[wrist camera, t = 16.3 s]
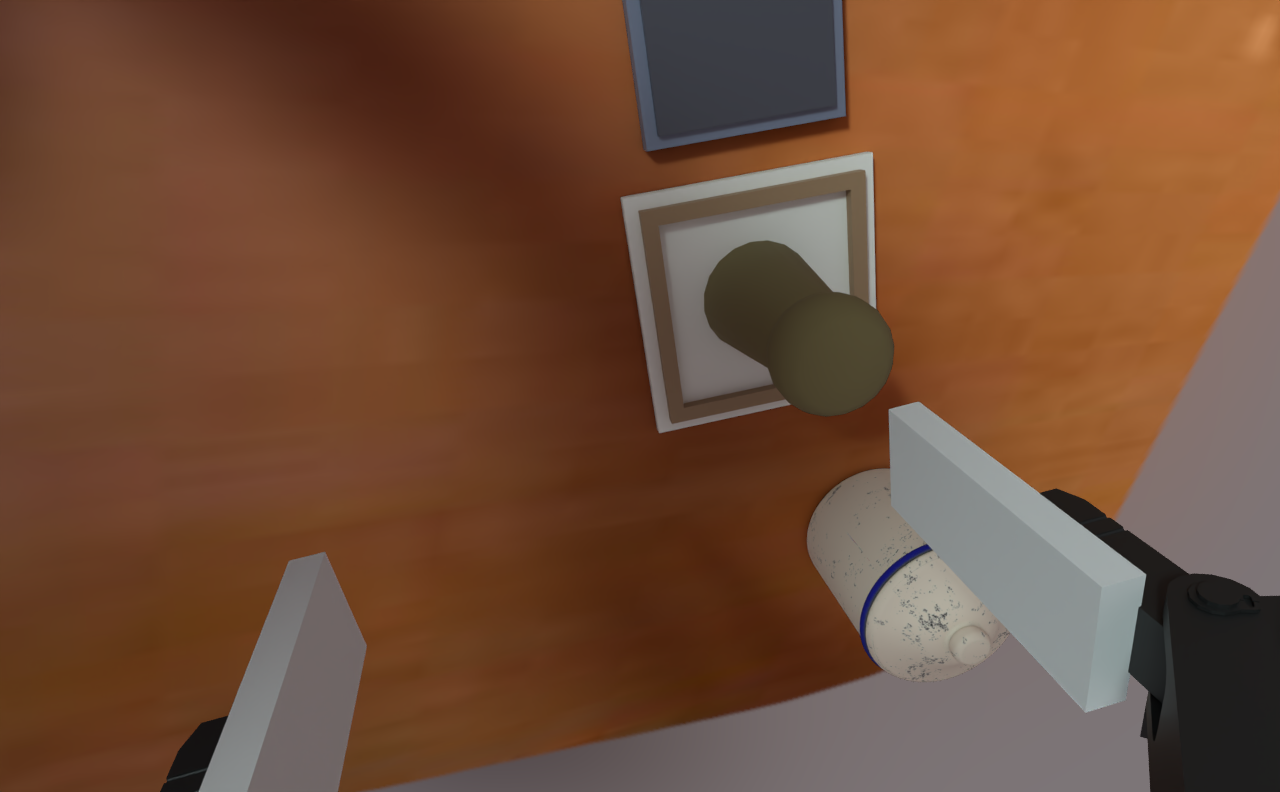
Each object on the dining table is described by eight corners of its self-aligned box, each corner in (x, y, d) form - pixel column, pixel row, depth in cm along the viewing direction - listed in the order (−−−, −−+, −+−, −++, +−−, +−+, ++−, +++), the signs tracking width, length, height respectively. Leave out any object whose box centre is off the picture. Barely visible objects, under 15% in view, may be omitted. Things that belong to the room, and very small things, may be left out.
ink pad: (609, -91, 32) (613, -97, 31) (828, -122, 33) (840, -130, 32) (643, 150, 36) (648, 151, 35) (838, 115, 37) (848, 116, 36)
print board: (620, 197, 36) (623, 200, 35) (867, 151, 38) (878, 153, 37) (657, 428, 42) (661, 437, 41) (872, 381, 43) (882, 389, 42)
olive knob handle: (832, 265, 39) (946, 326, 29) (780, 365, 41) (871, 455, 31) (734, 222, 37) (820, 271, 27) (684, 328, 39) (748, 411, 29)
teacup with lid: (814, 602, 49) (902, 745, 38) (788, 491, 45) (877, 615, 34) (981, 542, 49) (1114, 666, 39) (969, 427, 45) (1112, 529, 35)
